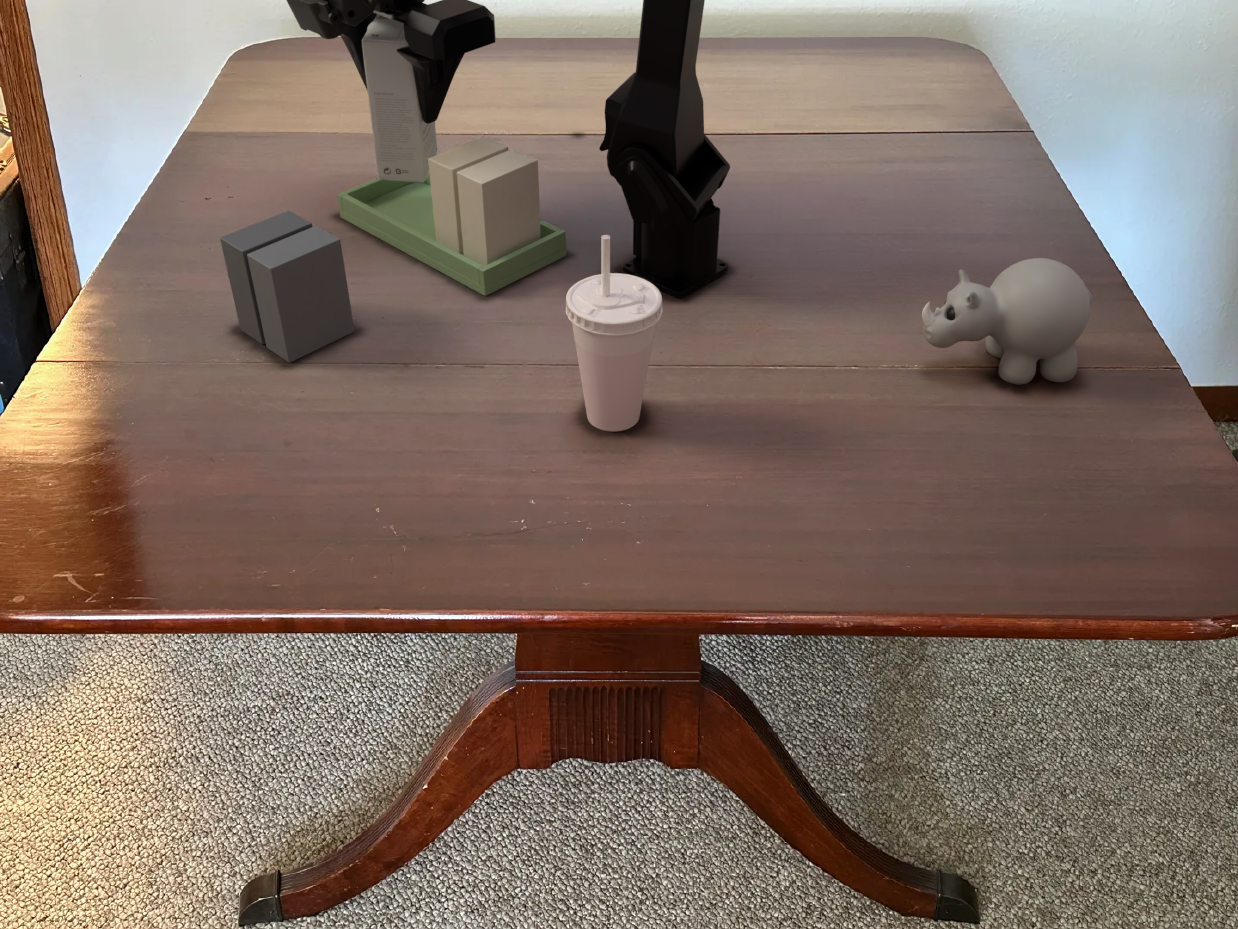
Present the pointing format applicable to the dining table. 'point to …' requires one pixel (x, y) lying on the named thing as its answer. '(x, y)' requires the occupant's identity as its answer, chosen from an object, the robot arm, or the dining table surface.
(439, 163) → the cream books
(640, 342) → the smoothie
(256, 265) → the grey books
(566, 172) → the dining table surface
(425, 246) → the green tray
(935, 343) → the toy rhinoceros
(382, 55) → the cosmetic box
